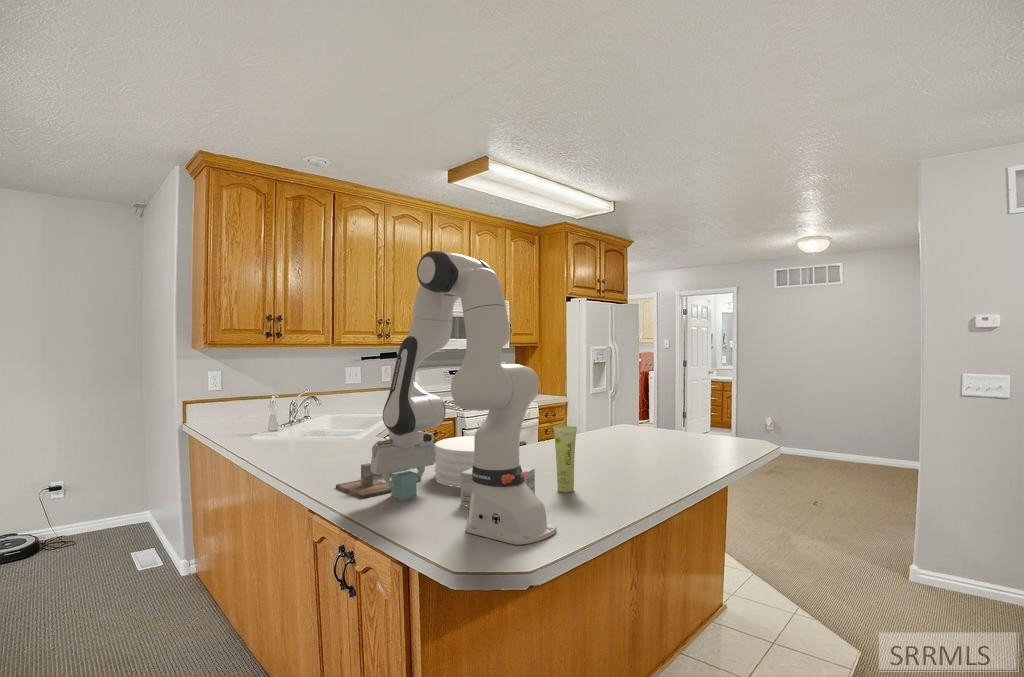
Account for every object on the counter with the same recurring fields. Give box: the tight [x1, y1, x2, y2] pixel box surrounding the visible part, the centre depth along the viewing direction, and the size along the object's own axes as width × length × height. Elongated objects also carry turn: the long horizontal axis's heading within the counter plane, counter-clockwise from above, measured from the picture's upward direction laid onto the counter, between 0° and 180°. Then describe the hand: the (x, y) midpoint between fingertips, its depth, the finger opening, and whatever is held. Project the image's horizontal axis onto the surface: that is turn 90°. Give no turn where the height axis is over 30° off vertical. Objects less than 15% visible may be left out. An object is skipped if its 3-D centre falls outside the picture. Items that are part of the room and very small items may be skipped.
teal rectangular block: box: [390, 470, 418, 500], centre depth 151 cm, size 5×5×7 cm
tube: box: [552, 425, 578, 493], centre depth 158 cm, size 6×5×20 cm
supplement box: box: [460, 466, 536, 507], centre depth 145 cm, size 17×13×9 cm
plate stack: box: [434, 435, 475, 488], centre depth 174 cm, size 28×28×12 cm
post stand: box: [335, 462, 391, 499], centre depth 158 cm, size 16×12×8 cm
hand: (404, 485), depth 151 cm, fingers open, 8 cm apart
